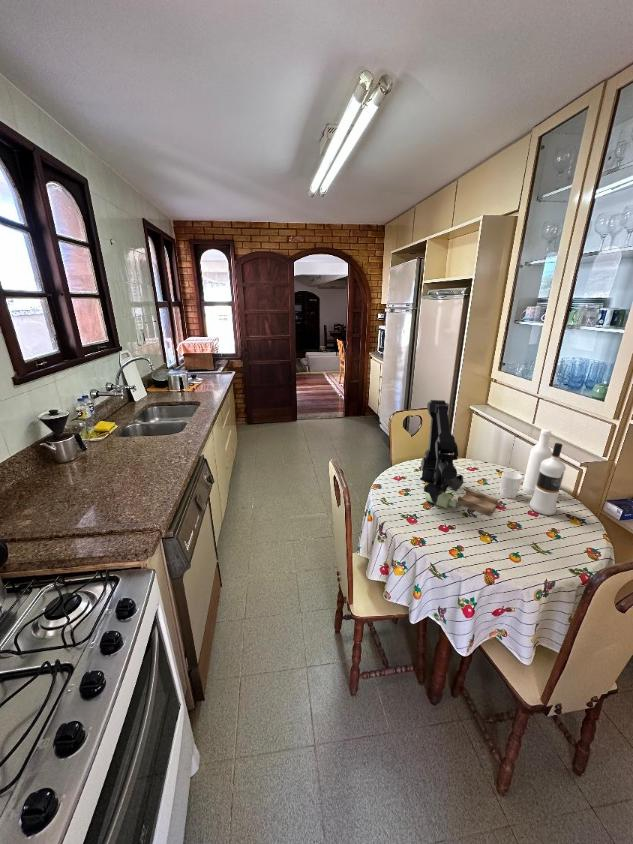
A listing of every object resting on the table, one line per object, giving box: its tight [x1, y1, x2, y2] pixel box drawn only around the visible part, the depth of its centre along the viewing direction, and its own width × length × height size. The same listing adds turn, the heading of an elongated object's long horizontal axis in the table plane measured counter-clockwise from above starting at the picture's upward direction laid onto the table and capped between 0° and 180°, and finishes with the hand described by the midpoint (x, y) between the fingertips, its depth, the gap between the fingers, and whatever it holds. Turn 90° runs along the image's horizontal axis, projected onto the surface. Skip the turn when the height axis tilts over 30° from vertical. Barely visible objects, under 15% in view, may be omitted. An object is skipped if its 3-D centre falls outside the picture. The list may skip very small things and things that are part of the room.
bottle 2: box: [521, 428, 553, 496], centre depth 154 cm, size 8×8×30 cm
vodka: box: [529, 442, 567, 516], centre depth 140 cm, size 9×9×30 cm
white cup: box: [499, 470, 523, 499], centre depth 154 cm, size 8×8×10 cm
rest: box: [456, 488, 499, 517], centre depth 148 cm, size 13×10×3 cm
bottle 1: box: [424, 492, 461, 510], centre depth 146 cm, size 13×6×6 cm, turn 46°
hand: (438, 500), depth 148 cm, fingers open, 7 cm apart
